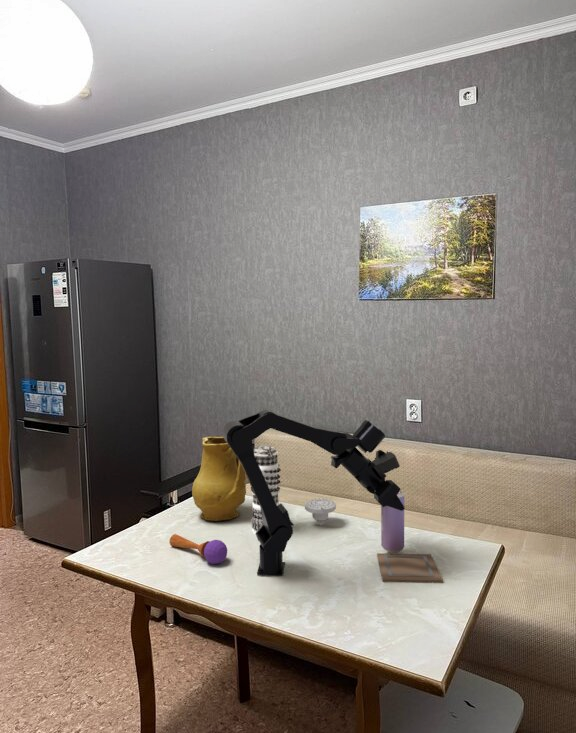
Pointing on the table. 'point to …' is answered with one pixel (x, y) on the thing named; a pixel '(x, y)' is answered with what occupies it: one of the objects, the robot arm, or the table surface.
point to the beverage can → (392, 527)
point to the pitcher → (219, 481)
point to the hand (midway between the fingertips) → (399, 505)
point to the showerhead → (320, 509)
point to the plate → (408, 568)
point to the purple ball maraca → (203, 548)
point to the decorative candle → (269, 469)
